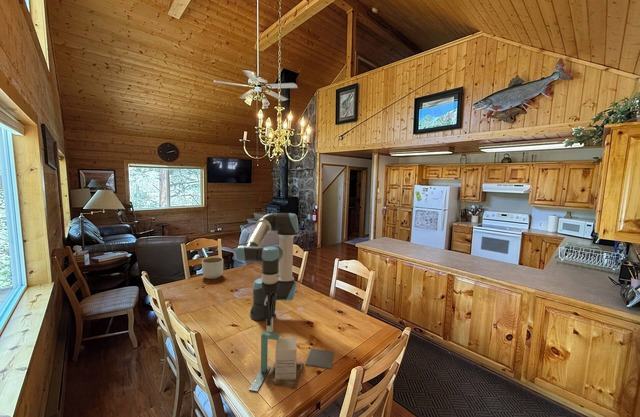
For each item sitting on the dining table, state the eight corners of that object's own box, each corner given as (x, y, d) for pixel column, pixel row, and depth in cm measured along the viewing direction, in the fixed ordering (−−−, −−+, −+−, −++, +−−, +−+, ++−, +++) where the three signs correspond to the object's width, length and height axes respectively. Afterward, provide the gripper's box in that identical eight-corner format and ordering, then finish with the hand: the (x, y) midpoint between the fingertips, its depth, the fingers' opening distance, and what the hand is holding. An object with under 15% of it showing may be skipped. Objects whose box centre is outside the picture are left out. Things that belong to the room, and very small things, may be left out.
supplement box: (276, 368, 120) (276, 337, 119) (296, 367, 121) (296, 336, 119) (274, 383, 111) (274, 349, 110) (295, 382, 112) (296, 349, 110)
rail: (248, 390, 107) (248, 389, 107) (262, 366, 121) (262, 365, 121) (257, 392, 106) (257, 391, 106) (270, 367, 120) (270, 366, 120)
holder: (266, 383, 111) (266, 379, 110) (276, 363, 123) (276, 359, 123) (296, 388, 108) (296, 384, 108) (303, 367, 121) (303, 363, 121)
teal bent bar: (260, 371, 117) (261, 334, 115) (263, 367, 119) (263, 331, 117) (277, 374, 115) (277, 336, 114) (279, 370, 118) (279, 333, 116)
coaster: (305, 365, 123) (305, 364, 123) (310, 349, 134) (310, 348, 134) (331, 369, 121) (331, 367, 120) (334, 352, 132) (334, 351, 132)
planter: (197, 279, 221) (197, 262, 220) (209, 273, 238) (209, 256, 237) (216, 281, 219) (216, 263, 217) (227, 274, 235) (227, 257, 234)
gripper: (273, 287, 113) (272, 340, 115) (282, 277, 126) (281, 324, 128) (256, 285, 114) (256, 337, 116) (267, 275, 127) (267, 322, 129)
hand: (269, 330), depth 122 cm, fingers closed
